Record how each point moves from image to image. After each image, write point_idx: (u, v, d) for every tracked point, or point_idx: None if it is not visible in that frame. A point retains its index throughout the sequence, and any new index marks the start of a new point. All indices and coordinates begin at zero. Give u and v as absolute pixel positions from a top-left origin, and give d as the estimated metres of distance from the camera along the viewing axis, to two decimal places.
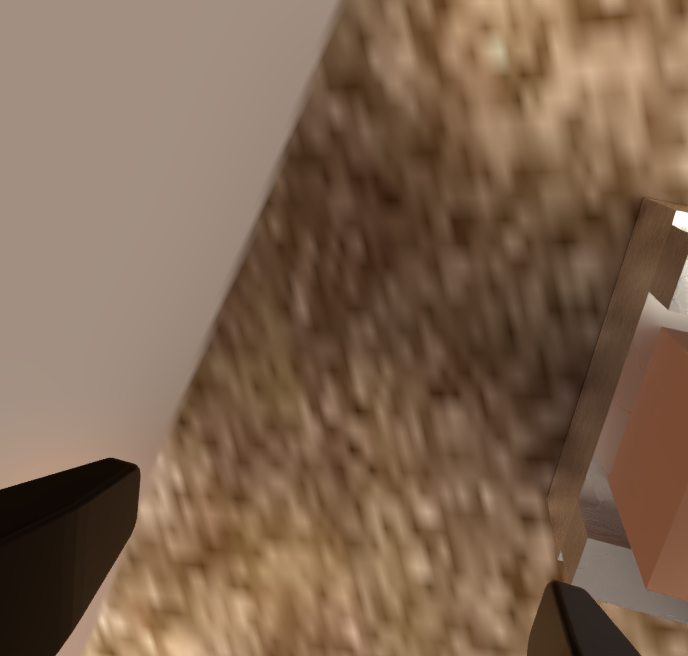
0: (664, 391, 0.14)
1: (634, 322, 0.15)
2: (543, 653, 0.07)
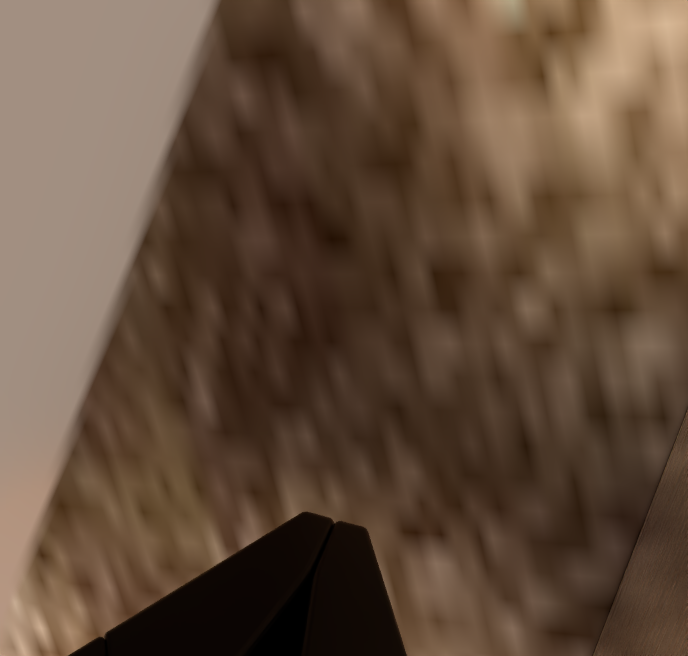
0: None
1: None
2: None
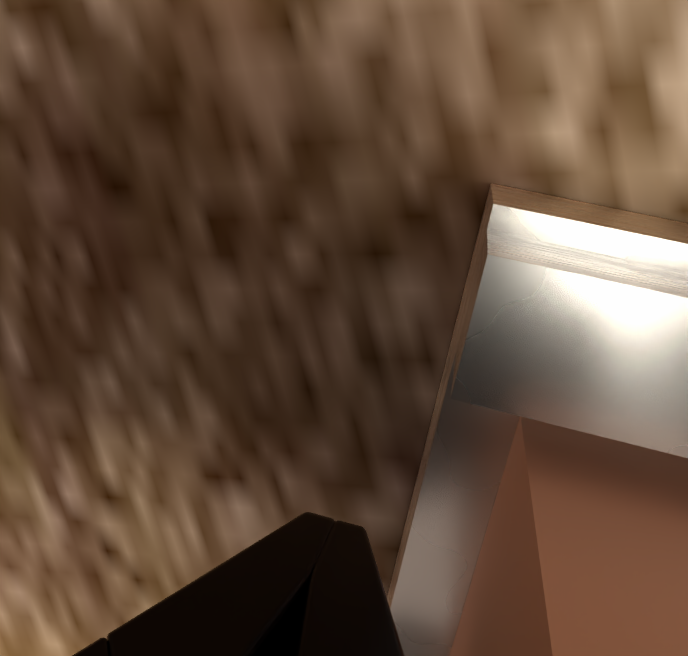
0: (504, 551, 0.07)
1: (442, 397, 0.09)
2: None
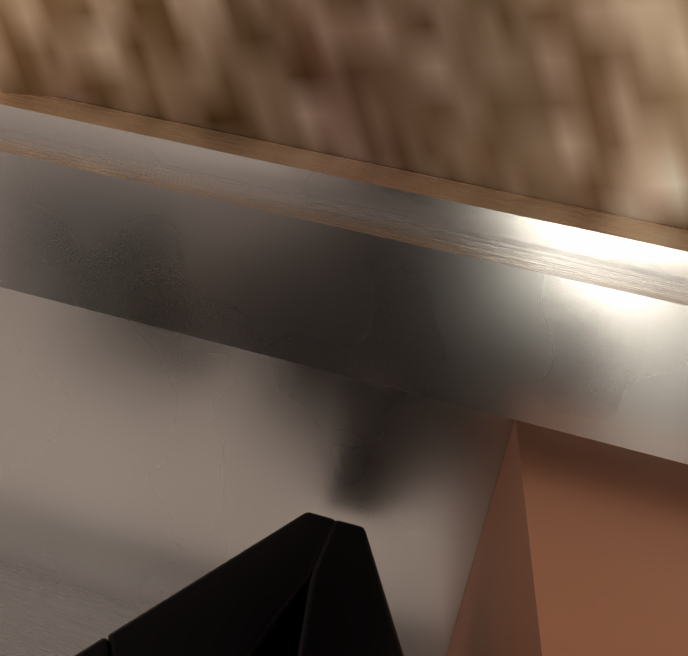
0: (498, 552, 0.07)
1: None
2: None
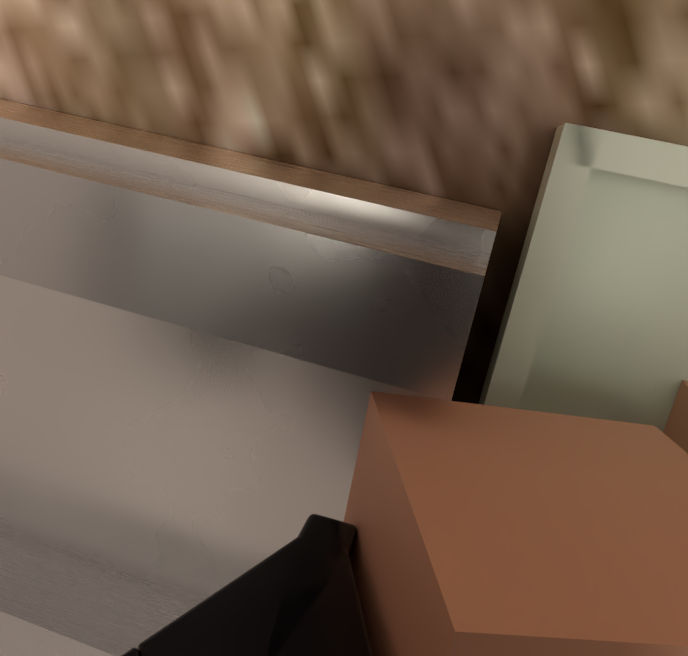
0: (373, 527, 0.07)
1: None
2: None
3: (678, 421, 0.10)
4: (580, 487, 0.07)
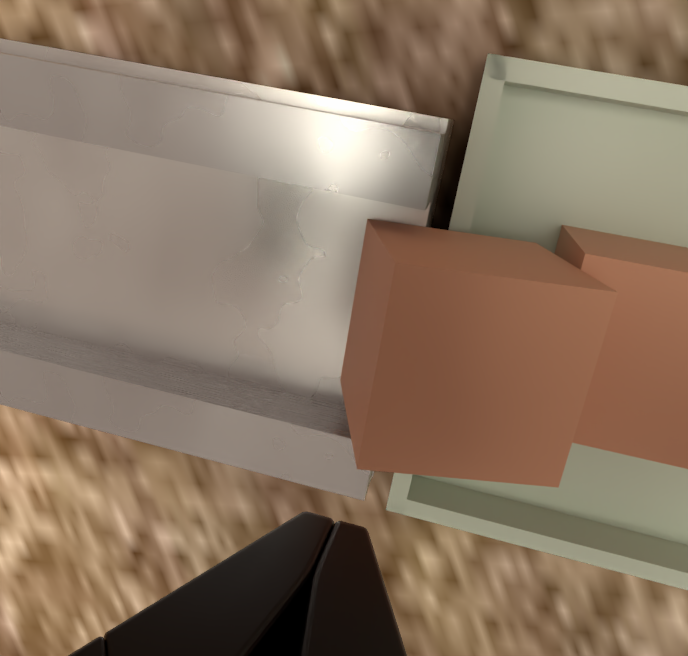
0: (367, 278, 0.14)
1: None
2: None
3: (559, 249, 0.16)
4: (474, 249, 0.13)
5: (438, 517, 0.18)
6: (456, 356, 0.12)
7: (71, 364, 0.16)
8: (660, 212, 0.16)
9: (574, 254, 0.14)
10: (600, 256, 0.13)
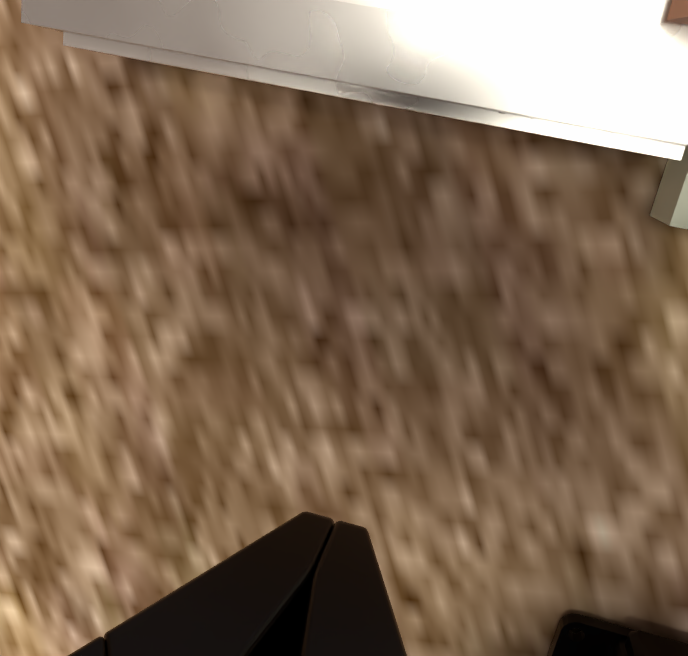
0: None
1: None
2: None
3: None
4: None
5: None
6: None
7: None
8: None
9: None
10: None
